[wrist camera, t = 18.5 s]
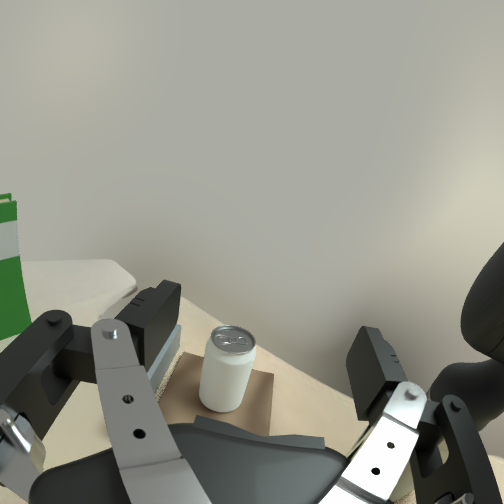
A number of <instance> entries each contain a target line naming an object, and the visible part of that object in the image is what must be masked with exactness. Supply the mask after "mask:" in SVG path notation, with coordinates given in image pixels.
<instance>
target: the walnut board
mask: <svg viewBox="0 0 504 504" xmlns="http://www.w3.org/2000/svg"><path fill="white" fill-rule="evenodd" d="M203 360H204V357H200V356H197V355H193V354H190V353H187V352H183V354H182V356H181V358H180V360H179V362H178V364H177V366H176V368H175V370H174V372H173V374H172V376H171V379H170V381H169V383H168V385H167V387H166V389H165V391H164V393H163V395H162V397H161V399H160V401H159V403H158V405H159V407H160V409H161V412H162V414H163V417H164V419H165V421H166V424H167V425H168V424H174V423H194V420H195V417H196V415H199V416H203V417H207V418H210V419H214V420H218V421H222V422H227V423H230V424H232V425H234V426H237V427H239V428H241V429H244V430H246V431H248V432H251V433H253V434H256V435H259V436H269V429H270V418H271V406H272V394H273V380H274V374H272V373H267V372H262V371H257V370H253V369H252V370H251V373H250V376H249V380H248V383H247V386H246V389H245V392H244V396H243V399H242V401H241V404H240V405H239V407H238V408H236V409H235V410H233V411H230V412H216V411H213V410H211V409H209V408H207V407H206V406H205V405H204V404H203V403H202V402H201V400H200V397H199V388H200V380H201V374H202V367H203Z"/></svg>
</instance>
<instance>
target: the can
mask: <svg viewBox="0 0 504 504" xmlns="http://www.w3.org/2000/svg"><path fill="white" fill-rule="evenodd" d="M255 344H256V342H255V338H254V336H253V335H252V334H251V333H250V332H249V331H247V330H245V329H243V328H241V327H238V326H232V325H224V326H220V327H217V328H215V329H214V330H213V331H212V333H211V336H210V338H209V339H208V341H207V343H206V348H205V354H204V360H203V367H202V374H201V380H200V388H199V397H200V400H201V402H202V403H203V404H204V405H205V406H206V407H207V408H209V409H211V410H213V411H216V412H230V411H233V410H235V409H236V408H238V407H239V405H240V404H241V401H242V399H243V396H244V392H245V389H246V386H247V383H248V380H249V376H250V373H251V370H252V366H253V363H254V359H255V355H256V348H255Z"/></svg>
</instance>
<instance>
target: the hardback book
mask: <svg viewBox="0 0 504 504" xmlns="http://www.w3.org/2000/svg"><path fill="white" fill-rule="evenodd" d="M16 203H17V202H16V201H11V193H8V194H1V195H0V340H3V339H5V338H8V337H11V336H14V335H17V334H20V333H22V332H23V331H24V330H25V329H26V328H27V327H28V326H29V325H31V324H32V322H31V318H30V314H29V309H28V304H27V300H26V294H25V289H24V283H23V277H22V270H21V262H20V254H19V243H18V230H17V207H16V205H17V204H16Z"/></svg>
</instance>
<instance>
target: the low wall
mask: <svg viewBox="0 0 504 504" xmlns="http://www.w3.org/2000/svg"><path fill="white" fill-rule="evenodd" d="M180 334H181V325H178V324H176V326H175V328H174V330H173V331H172V333H171V335H170V336H169V338H168V339H167V341H166V343H165V344H164V346H163V348H162V349H161V351H160V353H159V354H158V356H157V358H156V359H155V361H154V363H153V364H152V366H151V368H150V369H149V371H148V373H147V376H148V379H149V381H150V384H151V387H152V389H153V392H154V395H155V393H156V391H157V389H158V387H159V385H160V383H161V381H162V379H163V377H164V375H165V373H166V371H167V370H168V368H169V366H170V364H171V362H172V360H173V358H174V356H175V354H176V352H177V350H178V349H179V346H180Z"/></svg>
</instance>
